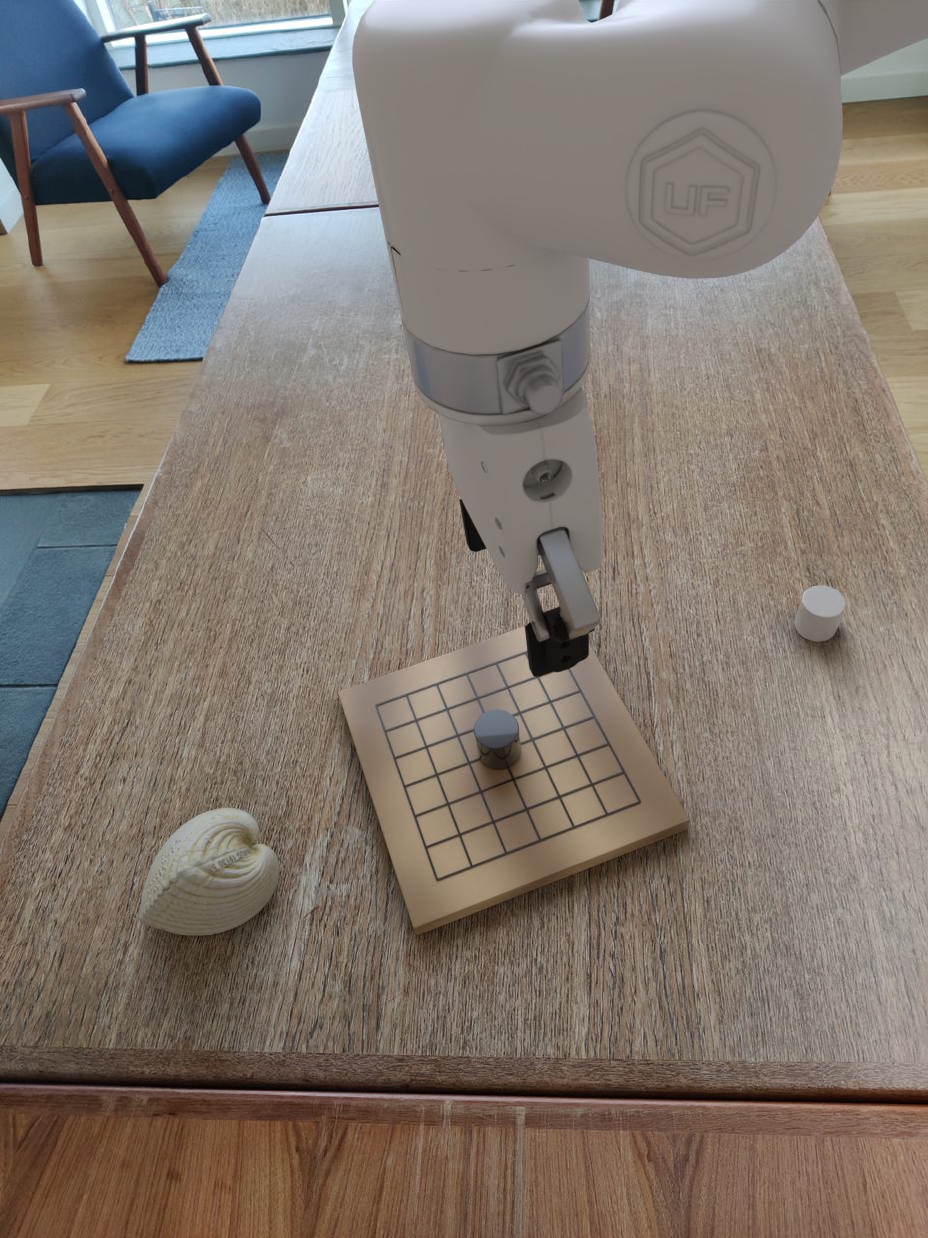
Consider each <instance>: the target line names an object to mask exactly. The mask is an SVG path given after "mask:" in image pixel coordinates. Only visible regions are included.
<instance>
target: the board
mask: <svg viewBox="0 0 928 1238" xmlns="http://www.w3.org/2000/svg"><path fill="white" fill-rule="evenodd" d="M525 626H526V625H523V626H521V627H518V628H516V629H513V630H510V631H507V632H504V633H501V634H499V635H494V636H492V637H489V638H487V639H484V640H481V641H478V642H475V643H472V644H470V645H467V646H464V647H462V648H458V649H456V650H452V651H450V652H447V653H444V654H442V655H439V656H435V657H432V658H429V659H427V660H424V661H421V662H419V663H418V662H417V663H416V664H413V665H410V666H406V667H405V668H404V667H403V668H401V669H398V670H396V671H393V672H390V673H388V674H384V675H382V676H378V677H376V678H373V679H369V680H367V681H365V682H361V683H358V684H356V685H353V686H350V687H347V688H344V689H341V690H339V691H337V695H338V698H339V701H340V704H341V707H342V711H343V714H344V718H345V720H346V723H347V726H348V729H349V732H350V735H351V739H352V742H353V744H354V748H355V751H356V754H357V757H358V760H359V763H360V768H361V770H362V772H363V776H364V779H365V782H366V785H367V788H368V792H369V794H370V797H371V798H370V799H371V801H372V804H373V807H374V810H375V813H376V816H377V820H378V822H379V826H380V829H381V832H382V835H383V838H384V841H385V842H384V843H385V844H386V848H387V851H388V854H389V858H390V860H391V863H392V867H393V869H394V872H395V875H396V879H397V882H398V885H399V888H400V891H401V895H402V897H403V900H404V904H405V907H406V910H407V913H408V916H409V919H410V922H411V926H412V928H413V931H414V934H415V935H416V936H420V935H422V934H425V933H427V932H430V931H432V930H435V929H437V928H440V927H443V926H445V925H447V924H450V923H453V922H456V921H458V920H461V919H463V918H466V917H468V916H471V915H474V914H477V913H479V912H480V911H483V910H486V909H489V908H491V907H494V906H496V905H499V904H501V903H505V902H506V901H509V900H511V899H514V898H517V897H519V896H522V895H524V894H526V893H529V892H533V891H534V890H537V889H539V888H542V887H544V886H548V885H551V884H552V883H554V882H557V881H560V880H562V879H565V878H568V877H570V876H573V875H575V874H578V873H581V872H582V871H585V870H588V869H590V868H592V867H595V866H598V865H600V864H603V863H605V862H608V861H610V860H613V859H616V858H619V857H621V856H623V855H626V854H628V853H629V854H630V853H631V852H633V851H636V850H638V849H641V848H644V847H647V846H649V845H651V844H654V843H656V842H659V841H661V840H664V839H667V838H669V837H673V836H675V835H677V834H679V833H682V832H684V831H687V830H689V825H690V818H689V816H688V814H687V812H686V810H685V809H684V807H683V806H682V803H681V802H680V800H679V799H678V796H677V795H676V793H675V792H674V790H673V787H671V784H670V782H669V781H668V779H667V777H666V776H665V773H664V771H662V769H661V766H660V765H659V763H658V761H657V760H656V758H655V756H654V754H653V752H652V750H651V749H650V747H649V745H648V743H647V742H646V740H645V739H644V736H643V734H642V733H641V732H640V730H639V728H638V726H637V724H636V722H635V721H634V719H633V717H632V715H631V713H630V712H629V710H628V708H627V706H626V704H625V703H624V701H623V699H622V697H621V696H620V694H619V693H618V691H617V689H616V687H615V685H614V684H613V682H612V680H611V679H610V676H609V675H608V673H607V671H606V669H605V668H604V666H603V665H602V663H601V661H600V658H599V657H598V656H597V654H596V652H595V650H594V648H593V646H592V644H591V643H590V642H589V656H588V657H587V658H586V659H585V660H583V661H580V662H578V663H577V664H576V665H575V666H574V667H572V668H570V669H567V670H565V671H562V672H550V673H548V674H545V675H542V676H539V677H534V676H533V675H532V673H531V671H530V669H529V663H528V653H527V644H526V634H525ZM490 710H504V711H507V712H509V713H510V714H512V715H513V716H514V717H515V718H516V720H517V722H518V725H519V733H520V743H521V754H520V757H519V759H518V761H517V762H516V763H515V764H514V765H513V766H511V767H509V768H507V769H503V770H494V769H491V768H488V767H487V766H485V765H484V764H483V763H482V762H481V761H480V759H479V756H478V752H477V746H476V741H475V735H474V725H475V723H476V721H477V719H478V718H479V717H480V716H481V715H482V714H483V713H485V712H487V711H490Z"/></svg>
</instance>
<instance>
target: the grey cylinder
mask: <svg viewBox="0 0 928 1238" xmlns="http://www.w3.org/2000/svg"><path fill="white" fill-rule="evenodd" d="M846 606H847V603H846V599H845V597H844V595H843V594H842V593H841V592H840V591H838V590H837V589H835V588H834V587H831V586H828V585H813V586H811V587H809V588H807V589H806V590H805V591H804V592H803V593H802V596H801V599H800V603H799V604H798V607H797V608H798V609H797V611H796V615H795V618H794V621H793V623H794V628H795V631H796V632H797V633H798V634H799V635H800V636H801V637H802V638H804V639H805V640H808V641H811V642H816V643H820V642H826V641H828V640H830V639H832V638H833V637H834V636H835V635H836V633H837V630H838V627H839V625H840V622H841V620H842V618H843V615H844V612H845V610H846Z"/></svg>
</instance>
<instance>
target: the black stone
mask: <svg viewBox="0 0 928 1238" xmlns="http://www.w3.org/2000/svg"><path fill="white" fill-rule="evenodd" d="M474 735H475V741H476V746H477V752H478V756H479V759H480V761H481V762H482V763H483V764H484V765H485V766H487V767H488V768H491V769H494V770H503V769H507V768H509V767H511V766H513V765H514V764H515V763H516V762H517V761H518V759H519V757H520V754H521V743H520V733H519V725H518V722H517V720H516V718H515V717H514V716H513V715H512V714H510V713H509V712H507V711H504V710H490V711H487V712H485V713H483V714H482V715H481V716H480V717H479V718H478V719H477V721H476V723H475V725H474Z"/></svg>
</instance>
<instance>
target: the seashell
mask: <svg viewBox="0 0 928 1238" xmlns="http://www.w3.org/2000/svg"><path fill="white" fill-rule="evenodd" d="M259 834H260V827H259V823H258V822H257V820H256V819H255V817H254V816H252V815H251V814H250V813H249V812H247V811H245V810H242V809H240V808H235V807H221V808H220V807H219V808H215V809H211V810H208V811H205V812H202V813H200V814H198V815H196V816H194V817H193V818H191V819H189V820H188V821H185V822H184V823H183V824H182V825H181V826H180V827H178V828H177V829H176V830H175V831H174V832H173V834H171V836H169V838H167V840H166V841H165V843H164V844H163V846H162V847H161V849H159V851H158V853H157V855H156V856H155V858H154V860H153V862H152V863H151V865H150V868H149V870H148V874H147V876H146V879H145V882H144V885H143V890H142V893H141V898H140V907H139V908H140V909H139V912H138V913H139V914H138V920H139V922H140V924H143V925H145V926H148V927H151V928H154V929H156V930H162V931H165V932H168V933H171V934H175V935H181V936H198V937H199V936H201V937H202V936H213V935H216V934H217V935H218V934H221V933H223V932H227V931H230V930H232V929H235V928H238V927H239V926H241V925H243V924H245V923H246V922H248V921H250V920H251V919H252V918H254V917H255V916H256V915H258V914H259V913H260V912H261V911H262V910H263V908H264V907H265V906H266V905H267V904H268V902H269V901H270V900H271V898H272V896H273V895H274V893H275V890H276V889H277V886H278V882H279V879H280V878H279V877H280V862H279V858H278V856H277V854H276V852H275V851H274V850H273V849H272V848H271V846H269V845H267V844H265V843H256V841H257V839H258V837H259Z"/></svg>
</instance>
